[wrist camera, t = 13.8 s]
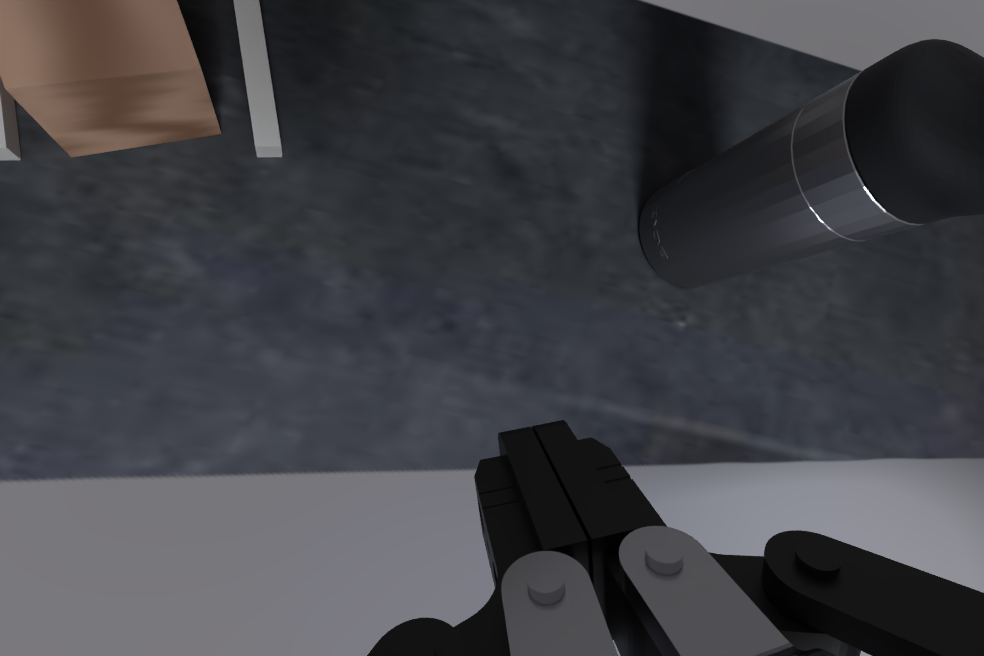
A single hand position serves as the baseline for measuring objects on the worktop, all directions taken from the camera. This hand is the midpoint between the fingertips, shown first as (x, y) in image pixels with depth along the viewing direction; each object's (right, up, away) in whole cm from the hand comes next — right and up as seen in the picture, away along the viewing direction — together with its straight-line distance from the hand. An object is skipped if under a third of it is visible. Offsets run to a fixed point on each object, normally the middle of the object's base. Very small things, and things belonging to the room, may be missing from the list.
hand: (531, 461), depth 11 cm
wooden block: (-24, +20, +19) cm, 36 cm away
